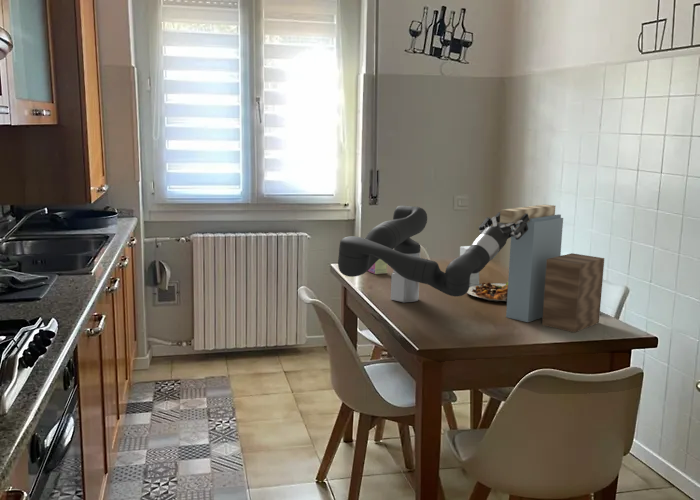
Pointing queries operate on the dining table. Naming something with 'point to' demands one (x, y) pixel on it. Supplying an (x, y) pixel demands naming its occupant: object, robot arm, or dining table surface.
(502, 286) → the plate of food
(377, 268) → the box
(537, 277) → the pedestal
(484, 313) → the dining table surface
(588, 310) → the low stand
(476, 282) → the skincare box
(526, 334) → the dining table surface
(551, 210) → the brown rectangular block
